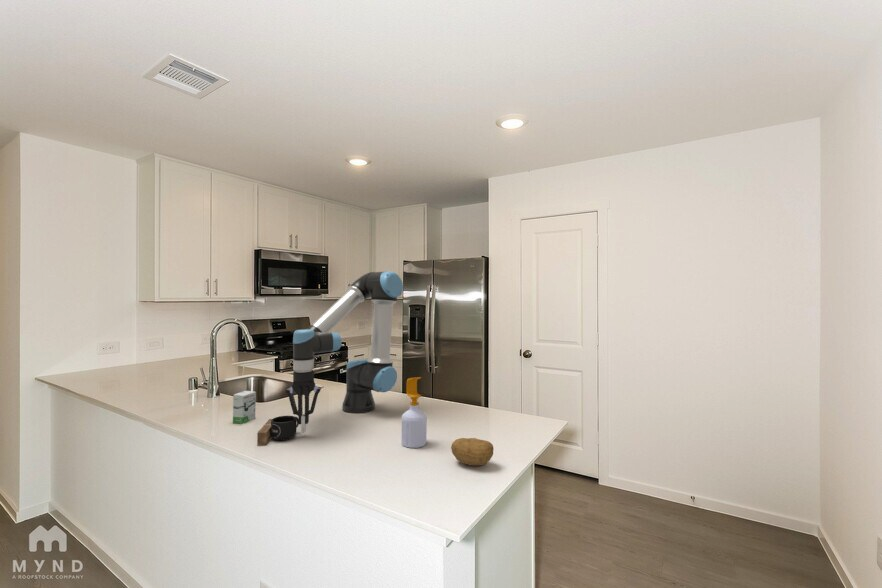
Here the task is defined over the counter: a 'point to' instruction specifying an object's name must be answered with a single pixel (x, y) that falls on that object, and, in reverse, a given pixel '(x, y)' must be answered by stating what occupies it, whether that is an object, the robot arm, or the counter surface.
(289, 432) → the mug
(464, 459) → the potato
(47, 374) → the counter surface
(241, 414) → the ink box
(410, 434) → the soap bottle
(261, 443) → the long brown box
